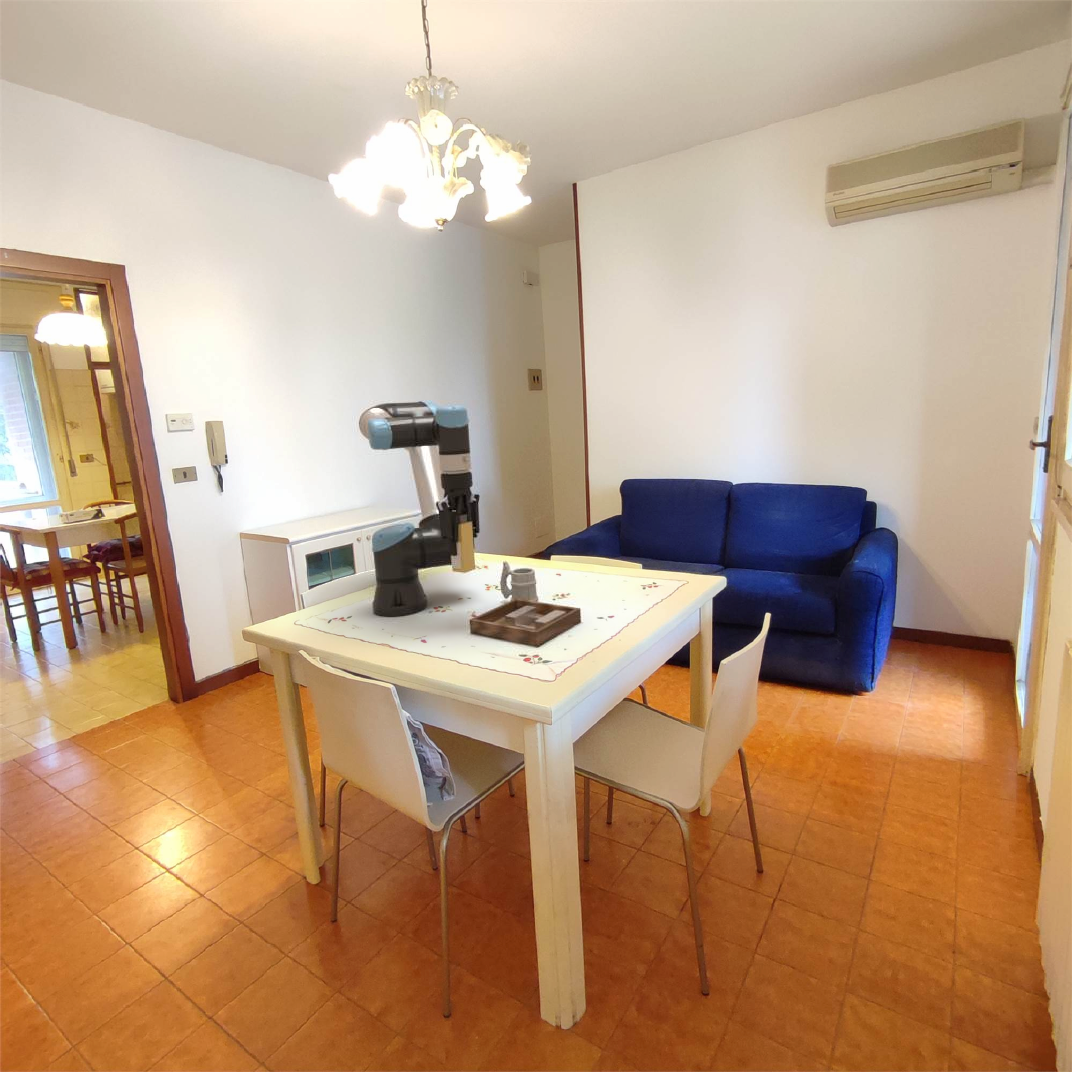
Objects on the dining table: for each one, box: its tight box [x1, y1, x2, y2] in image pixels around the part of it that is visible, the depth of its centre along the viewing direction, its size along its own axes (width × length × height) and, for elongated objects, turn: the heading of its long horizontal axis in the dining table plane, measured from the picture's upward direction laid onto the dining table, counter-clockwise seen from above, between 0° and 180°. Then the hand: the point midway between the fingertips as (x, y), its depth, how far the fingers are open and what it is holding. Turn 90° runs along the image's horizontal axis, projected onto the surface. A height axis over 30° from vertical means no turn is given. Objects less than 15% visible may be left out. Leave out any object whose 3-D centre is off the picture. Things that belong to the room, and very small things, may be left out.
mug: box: [499, 560, 539, 602], centre depth 172 cm, size 8×12×12 cm, turn 55°
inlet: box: [505, 605, 566, 630], centre depth 152 cm, size 12×9×3 cm
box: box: [469, 599, 582, 648], centre depth 153 cm, size 20×19×4 cm
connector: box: [451, 514, 476, 574], centre depth 153 cm, size 4×4×14 cm
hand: (463, 565), depth 155 cm, fingers closed on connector, 4 cm apart
